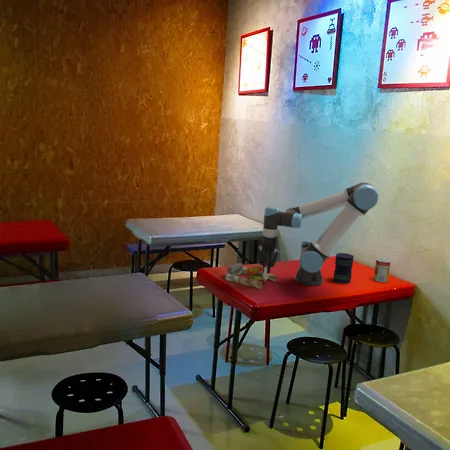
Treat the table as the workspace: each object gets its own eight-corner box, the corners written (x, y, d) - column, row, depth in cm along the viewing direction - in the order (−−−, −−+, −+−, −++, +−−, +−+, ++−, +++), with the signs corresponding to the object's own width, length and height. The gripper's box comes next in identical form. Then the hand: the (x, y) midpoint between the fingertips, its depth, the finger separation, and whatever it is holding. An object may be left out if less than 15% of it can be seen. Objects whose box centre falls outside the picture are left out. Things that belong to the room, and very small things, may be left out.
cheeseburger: (268, 284, 265) (265, 267, 263) (248, 288, 265) (245, 270, 263) (265, 278, 275) (263, 261, 273) (247, 281, 275) (243, 265, 273)
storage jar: (346, 284, 274) (349, 258, 271) (330, 280, 280) (333, 255, 277) (353, 281, 282) (356, 255, 279) (337, 276, 288) (340, 252, 285)
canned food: (386, 278, 291) (388, 258, 288) (389, 282, 283) (392, 262, 281) (372, 277, 291) (375, 257, 289) (375, 281, 284) (377, 261, 281)
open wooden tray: (276, 280, 273) (277, 270, 272) (260, 288, 258) (261, 277, 257) (240, 271, 285) (241, 261, 284) (223, 279, 270) (224, 268, 269)
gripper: (283, 237, 261) (279, 279, 266) (262, 232, 267) (258, 274, 272) (277, 239, 254) (273, 283, 259) (255, 234, 261) (251, 277, 266)
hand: (265, 278), depth 266 cm, fingers closed
